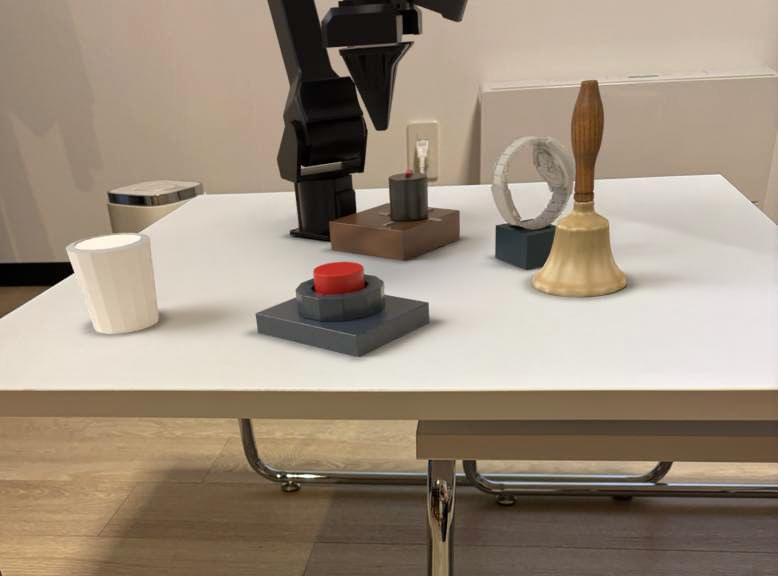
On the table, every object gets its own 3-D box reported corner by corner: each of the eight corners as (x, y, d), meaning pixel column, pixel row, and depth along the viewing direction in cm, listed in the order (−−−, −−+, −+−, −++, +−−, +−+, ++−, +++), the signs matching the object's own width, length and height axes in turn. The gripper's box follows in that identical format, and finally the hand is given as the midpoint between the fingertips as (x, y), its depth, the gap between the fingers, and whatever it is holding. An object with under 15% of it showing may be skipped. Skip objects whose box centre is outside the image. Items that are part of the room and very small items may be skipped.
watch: (580, 258, 80) (589, 134, 74) (510, 273, 78) (513, 145, 72) (547, 247, 85) (552, 128, 79) (479, 260, 82) (480, 139, 76)
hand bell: (571, 304, 69) (586, 88, 60) (513, 282, 75) (518, 83, 67) (647, 285, 72) (671, 76, 63) (585, 265, 78) (599, 73, 70)
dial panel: (331, 250, 89) (328, 220, 88) (388, 230, 96) (387, 201, 94) (412, 262, 83) (411, 230, 81) (468, 240, 89) (468, 209, 88)
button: (304, 293, 66) (302, 271, 65) (338, 280, 68) (336, 259, 67) (342, 301, 64) (340, 278, 63) (375, 287, 66) (373, 265, 65)
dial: (426, 220, 85) (425, 175, 82) (388, 222, 85) (385, 177, 83) (430, 212, 88) (429, 168, 86) (393, 213, 89) (390, 170, 86)
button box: (257, 333, 68) (251, 290, 66) (330, 303, 74) (326, 263, 72) (358, 357, 62) (355, 311, 60) (429, 322, 67) (428, 279, 65)
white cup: (125, 340, 68) (104, 254, 65) (70, 330, 72) (47, 248, 68) (182, 315, 73) (166, 234, 69) (127, 307, 76) (109, 228, 73)
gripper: (457, -92, 61) (459, 141, 69) (474, -76, 76) (473, 113, 84) (311, -78, 63) (330, 147, 71) (355, -65, 78) (367, 119, 86)
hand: (382, 130), depth 78 cm, fingers closed
